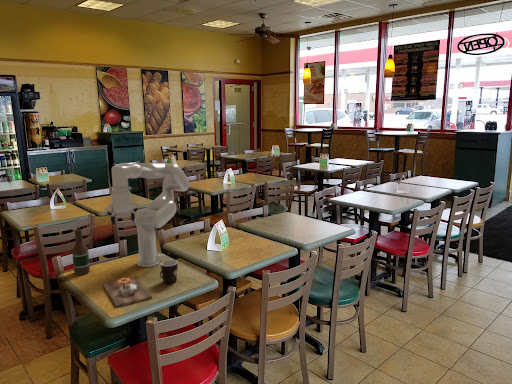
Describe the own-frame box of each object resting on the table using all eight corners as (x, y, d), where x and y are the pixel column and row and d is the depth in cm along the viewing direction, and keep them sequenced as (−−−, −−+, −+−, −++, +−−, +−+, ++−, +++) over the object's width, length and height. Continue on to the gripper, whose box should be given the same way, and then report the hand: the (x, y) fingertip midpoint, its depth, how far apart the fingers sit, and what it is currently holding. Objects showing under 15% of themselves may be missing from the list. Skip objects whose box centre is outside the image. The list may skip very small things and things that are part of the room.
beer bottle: (74, 276, 206) (70, 232, 201) (74, 271, 212) (69, 228, 208) (90, 273, 209) (86, 230, 204) (89, 268, 216) (85, 226, 211)
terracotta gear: (128, 282, 196) (128, 276, 195) (132, 286, 190) (131, 281, 190) (116, 285, 192) (115, 279, 192) (119, 289, 187) (119, 284, 187)
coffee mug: (172, 276, 205) (171, 258, 203) (182, 281, 199) (181, 262, 197) (152, 283, 197) (151, 264, 195) (161, 288, 191) (160, 269, 189)
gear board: (136, 278, 202) (135, 268, 201) (152, 298, 181) (151, 286, 180) (103, 286, 194) (102, 275, 193) (116, 307, 172) (115, 295, 171)
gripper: (135, 186, 208) (137, 218, 212) (101, 190, 199) (104, 223, 203) (139, 189, 202) (142, 221, 206) (104, 192, 193) (107, 226, 196)
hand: (123, 222), depth 204 cm, fingers open, 9 cm apart
